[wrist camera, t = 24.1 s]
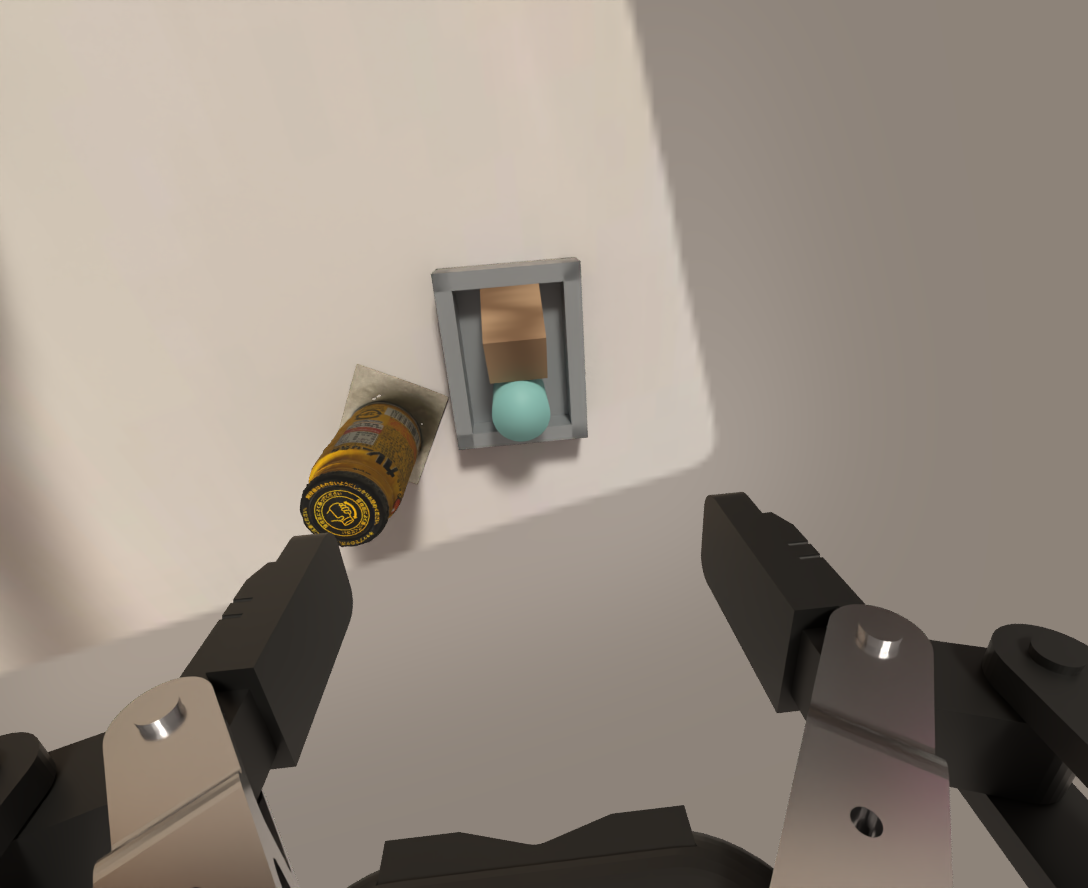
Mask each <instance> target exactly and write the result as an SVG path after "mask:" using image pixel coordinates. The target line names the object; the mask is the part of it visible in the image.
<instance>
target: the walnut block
mask: <svg viewBox="0 0 1088 888" xmlns="http://www.w3.org/2000/svg"><path fill="white" fill-rule="evenodd" d="M480 301H481V320H482V339H483V348H484V353H485V359H486V364H487V369H488V375H489V380H490V384H492V383H503V382H513V381H523V380H534V379H544V378H548V373H547V343H546V332H545V325H544V318H543V311H542V303H541V296H540V289H539V283H538V284H527V285H516V286H505V287H494V288H483V289H480Z"/></svg>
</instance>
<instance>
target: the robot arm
mask: <svg viewBox="0 0 1088 888" xmlns="http://www.w3.org/2000/svg"><path fill="white" fill-rule="evenodd" d="M701 561H702V568H703V573H704V576H705V579H706V582H707V584H708V586H709V587H710V589H711V591H712V593H713V595H714V597H715V598H716V600H717V602H718V604H719V606H720V608H721V610H722V612H723V614H724V615H725V617H726V619H727V621H728V623H729V625H730V626H731V628H732V630H733V632H734V634H735V636H736V638H737V639H738V642H739V643H740V645H741V647H742V649H743V651H744V652H745V655H746V656H747V658H748V660H749V662H750V664H751V666H752V668H753V669H754V671H755V673H756V675H757V677H758V679H759V680H760V682H761V684H762V686H763V688H764V690H765V692H766V694H767V695H768V697H769V699H770V701H771V703H772V705H773V707H774V708H775V710H776V712H777V713H783V712H791V711H801V713H802V715H803V717H804V719H805V720H806V724H805V728H804V733H803V738H802V742H801V747H800V751H799V756H798V760H797V765H796V769H795V774H794V779H793V783H792V787H791V792H790V797H789V801H788V806H787V810H786V815H785V820H784V824H783V829H782V833H781V838H780V842H779V847H778V852H777V856H776V861H775V865H774V868H772V867H771V866H769V865H768V864H767V863H765V862H764V861H763V860H761V859H760V858H758V857H756V856H754V855H753V854H751V853H749V852H748V851H746V850H744V849H743V848H741V847H738V846H736V845H734V844H732V843H729V842H727V841H725V840H723V839H720V838H717V837H713V836H710V835H707V834H704V833H698V832H694V831H691V827H690V824H689V820H688V817H687V814H686V810H685V807H684V805H681V806H673V807H665V808H656V809H648V810H640V811H631V812H623V813H615V814H610V815H608V816H605V817H603V818H601V819H599V820H596V821H594V822H591V823H589V824H587V825H585V826H582V827H580V828H578V829H575V830H573V831H571V832H568V833H566V834H564V835H561V836H559V837H557V838H554V839H552V840H550V841H547V842H545V843H542V844H537V845H530V844H523V843H518V842H512V841H507V840H501V839H495V838H490V837H484V836H479V835H473V834H467V833H461V832H457V833H449V834H440V835H431V836H423V837H415V838H406V839H398V840H390V841H385V844H384V850H383V855H382V861H381V866H380V870H378V871H376V872H374V873H372V874H370V875H368V876H366V877H364V878H362V879H361V880H359V881H357V882H355V883H354V884H352V885H350V886H349V887H348V888H953V870H952V844H951V818H950V817H951V815H950V788H949V787H954V788H958V790H959V791H960V792H961V794H962V795H963V797H964V798H965V799H966V800H967V802H968V804H969V805H970V806H971V808H972V809H973V811H974V812H975V813H976V815H977V816H978V818H979V819H980V820H981V822H982V823H983V824H984V826H985V827H986V829H987V830H988V832H989V833H990V834H991V836H992V837H993V839H994V840H995V841H996V843H997V844H998V845H999V847H1000V848H1001V850H1002V851H1003V853H1004V854H1005V855H1006V857H1007V858H1008V860H1009V861H1010V862H1011V864H1012V865H1013V867H1014V868H1015V870H1016V871H1017V872H1018V874H1019V875H1020V876H1021V878H1022V879H1023V881H1024V882H1025V884H1026V885H1027V886H1028V887H1029V888H1088V800H1087V799H1086V797H1085V796H1084V795H1083V794H1082V793H1081V792H1080V791H1079V790H1078V789H1077V788H1076V786H1075V785H1073V783H1072V781H1073V779H1074V778H1075V776H1077V777H1078V778H1079V779H1080V780H1081V782H1082V783H1083V784H1084V785H1085V786H1086V787H1087V788H1088V646H1087V645H1085V644H1084V643H1082V642H1080V641H1078V640H1076V639H1074V638H1072V637H1069V636H1067V635H1065V634H1062V633H1059V632H1057V631H1054V630H1051V629H1047V628H1043V627H1039V626H1034V625H1027V624H1010V625H1005V626H1002V627H1000V628H998V629H996V630H995V632H994V633H993V635H992V637H991V640H990V642H989V645H988V647H987V648H984V647H976V646H969V645H962V644H955V643H947V642H940V641H933V640H929V639H928V637H927V636H926V635H925V633H923V631H922V630H921V629H920V628H918V627H917V626H916V625H915V624H914V623H912V622H911V621H909V620H908V619H906V618H904V617H902V616H901V615H899V614H897V613H894V612H892V611H890V610H887V609H884V608H881V607H876V606H872V605H865V603H864V602H863V601H862V600H861V599H860V598H859V597H858V596H857V595H856V594H855V592H854V591H853V590H852V589H851V588H850V587H849V586H848V585H847V584H846V582H845V581H844V580H843V579H842V578H841V577H840V576H839V575H838V574H837V573H836V571H835V570H834V569H833V568H832V567H831V566H830V565H829V564H828V563H827V561H826V560H825V559H824V558H823V557H822V558H821V557H820V554H819V553H818V551H817V550H816V549H815V548H814V547H813V546H812V545H811V544H808V540H807V539H806V538H805V537H804V536H803V535H802V534H801V533H800V532H799V530H798V529H797V528H796V527H795V526H794V525H793V524H791V523H789V522H788V521H786V520H784V519H782V518H781V517H779V516H777V515H776V514H774V513H772V512H769V513H762V512H761V511H760V510H759V509H758V508H757V506H756V505H755V504H754V503H753V502H752V500H751V499H750V498H749V497H748V496H747V495H746V494H745V493H744V492H737V493H726V494H718V495H708V496H707V497H706V500H705V504H704V518H703V533H702V548H701ZM352 608H353V598H352V591H351V587H350V583H349V580H348V576H347V573H346V570H345V566H344V563H343V559H342V556H341V553H340V549H339V546H338V543H337V540H336V538H335V536H334V535H333V534H332V533H321V534H311V535H301V536H294V537H292V538H291V539H290V541H289V542H288V544H287V545H286V547H285V548H284V550H283V552H282V553H281V555H280V556H279V558H278V559H277V561H276V562H269V563H267V564H266V565H264V566H263V567H262V568H261V569H260V570H258V571H257V572H256V573H255V574H253V575H252V576H251V577H250V578H249V579H247V580H246V582H245V583H244V584H243V586H242V587H241V589H240V590H239V592H238V593H237V595H236V596H235V598H234V599H233V603H230V605H229V606H228V608H227V609H226V611H225V612H224V614H223V615H222V620H219V621H218V622H217V624H216V625H215V627H214V628H213V630H212V631H211V633H210V634H209V636H208V637H207V638H206V640H205V641H204V643H203V644H202V646H201V647H200V649H199V650H198V651H197V653H196V654H195V656H194V657H193V659H192V660H191V662H190V663H189V665H188V666H187V667H186V669H185V670H184V672H183V673H182V675H181V676H180V678H177V679H173V680H170V681H168V682H165V683H162V684H160V685H158V686H156V687H154V688H152V689H150V690H148V691H147V692H145V693H143V694H142V695H140V696H139V697H137V698H136V699H135V700H133V701H132V702H131V703H130V704H128V705H127V706H126V707H125V708H124V709H123V710H122V711H121V712H120V713H119V714H118V715H117V716H116V717H115V718H114V720H113V721H112V723H111V724H110V726H109V727H108V729H107V731H106V732H104V733H101V734H99V735H96V736H93V737H90V738H87V739H84V740H82V741H79V742H76V743H73V744H70V745H68V746H65V747H62V748H59V749H56V750H53V751H50V752H47V751H46V749H45V748H44V747H43V745H42V744H41V743H40V741H39V740H38V738H37V737H35V736H34V735H33V734H30V733H24V732H19V733H10V734H6V735H2V736H0V888H300V886H299V883H298V881H297V878H296V876H295V873H294V870H293V867H292V865H291V862H290V859H289V857H288V854H287V851H286V849H285V846H284V843H283V840H282V838H281V835H280V832H279V830H278V827H277V824H276V822H275V819H274V816H273V814H272V811H271V809H270V806H269V803H268V800H267V798H266V796H265V793H264V791H263V789H262V787H263V785H264V783H265V780H266V778H267V775H268V773H269V770H270V769H277V768H286V767H294V766H296V765H297V763H298V760H299V757H300V754H301V752H302V749H303V746H304V744H305V741H306V738H307V736H308V733H309V730H310V727H311V724H312V722H313V719H314V716H315V714H316V711H317V708H318V706H319V703H320V701H321V698H322V695H323V692H324V690H325V687H326V684H327V682H328V679H329V676H330V674H331V671H332V668H333V665H334V663H335V660H336V657H337V655H338V652H339V649H340V647H341V644H342V641H343V639H344V636H345V633H346V630H347V628H348V625H349V622H350V619H351V615H352Z"/></svg>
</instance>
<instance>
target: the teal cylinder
mask: <svg viewBox="0 0 1088 888" xmlns="http://www.w3.org/2000/svg"><path fill="white" fill-rule="evenodd" d="M492 419H493V423H494V425H495V428H496V429H497V430H498V432H499V433H500V434H501V435H503V436H504V437H506V438H508V439H510V440H513V441H519V442H523V441H529V440H532V439H534V438H536V437H538V436H539V435H541V434H542V433H543V432H544V430H545V429H546V428H547V426H548V424H549V421H550V407H549V403H548V399H547V395H546V391H545V386H544V383H543V380H542V379H534V380H523V381H513V382H503V383H494V386H493V404H492Z"/></svg>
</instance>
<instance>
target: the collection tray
mask: <svg viewBox="0 0 1088 888" xmlns="http://www.w3.org/2000/svg"><path fill="white" fill-rule="evenodd" d="M431 277H432V284H433V290H434V296H435V302H436V309H437V315H438V321H439V328H440V334H441V340H442V346H443V353H444V359H445V365H446V371H447V378H448V384H449V390H450V397H451V403H452V409H453V415H454V422H455V428H456V434H457V440H458V447H459V450H463V449H473V448H484V447H494V446H504V445H515V444H525V443H535V442H546V441H556V440H566V439H577V438H587V437H588V430H587V406H586V383H585V359H584V335H583V311H582V287H581V264H580V261H579V260H578V259H577V258H575V257H571V258H559V259H547V260H536V261H524V262H512V263H500V264H489V265H477V266H465V267H454V268H442V269H436V270H435V271H434V272H433V273H432V274H431ZM538 283H539V289H540V296H541V303H542V311H543V318H544V325H545V332H546V343H547V373H548V378H544V379H542V380H543V383H544V386H545V391H546V395H547V399H548V403H549V407H550V421H549V424H548V426H547V428H546V429H545V430H544V432H543V433H542V434H541V435H539V436H538V437H536V438H534V439H532V440H529V441H523V442H519V441H513V440H510V439H508V438H506V437H504V436H503V435H501V434H500V433H499V432H498V430H497V429H496V428H495V425H494V423H493V419H492V404H493V386H494V383H492V384H490V380H489V375H488V369H487V364H486V359H485V353H484V348H483V339H482V320H481V301H480V289H483V288H494V287H505V286H516V285H527V284H538Z"/></svg>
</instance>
